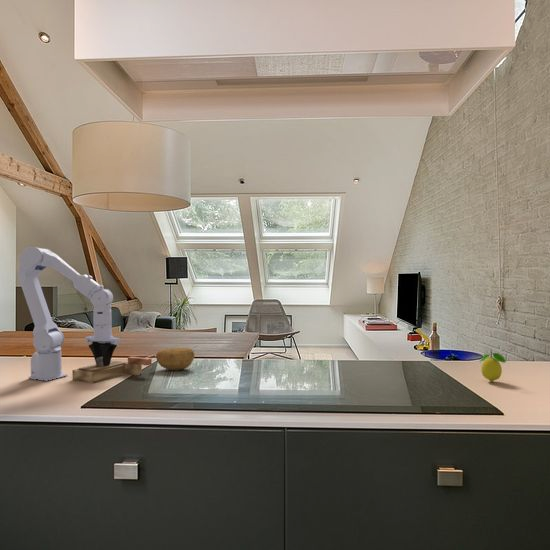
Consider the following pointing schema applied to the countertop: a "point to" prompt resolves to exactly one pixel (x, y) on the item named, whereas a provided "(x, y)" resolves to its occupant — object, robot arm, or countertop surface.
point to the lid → (101, 365)
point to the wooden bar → (140, 360)
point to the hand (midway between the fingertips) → (103, 364)
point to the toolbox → (107, 373)
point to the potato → (175, 358)
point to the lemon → (492, 366)
